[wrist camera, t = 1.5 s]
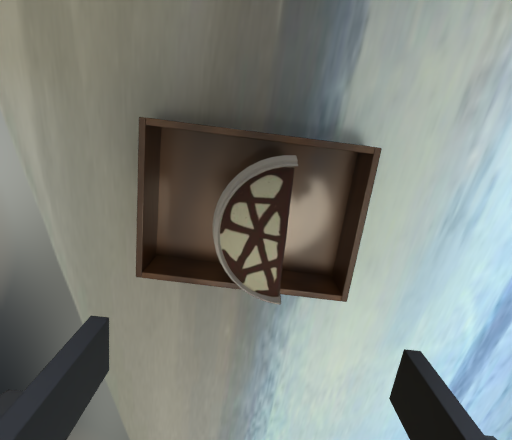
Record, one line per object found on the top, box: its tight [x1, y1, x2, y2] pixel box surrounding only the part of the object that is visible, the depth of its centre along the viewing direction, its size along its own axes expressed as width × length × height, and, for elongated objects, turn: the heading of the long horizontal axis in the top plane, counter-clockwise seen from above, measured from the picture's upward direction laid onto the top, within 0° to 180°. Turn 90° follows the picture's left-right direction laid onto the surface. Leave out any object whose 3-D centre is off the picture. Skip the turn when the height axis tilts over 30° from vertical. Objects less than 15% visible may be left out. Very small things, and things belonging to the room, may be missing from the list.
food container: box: [213, 155, 298, 304], centre depth 29 cm, size 12×6×10 cm, turn 175°
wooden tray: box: [136, 117, 381, 302], centre depth 31 cm, size 21×15×5 cm
